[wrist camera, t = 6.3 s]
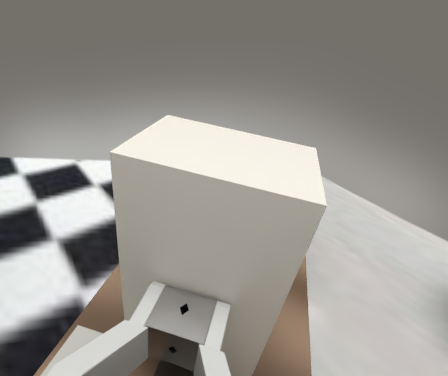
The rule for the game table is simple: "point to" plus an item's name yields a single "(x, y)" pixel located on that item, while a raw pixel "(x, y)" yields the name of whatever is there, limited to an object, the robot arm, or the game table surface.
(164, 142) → the switch tab
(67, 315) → the game table surface
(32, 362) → the game table surface
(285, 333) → the switch board
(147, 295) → the robot arm
